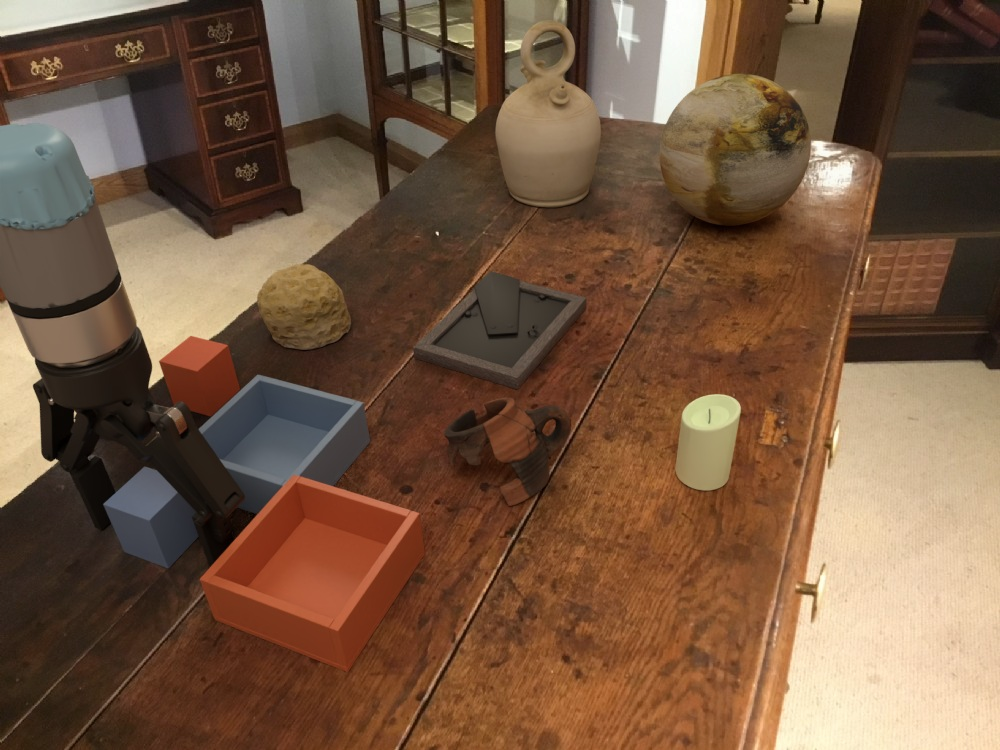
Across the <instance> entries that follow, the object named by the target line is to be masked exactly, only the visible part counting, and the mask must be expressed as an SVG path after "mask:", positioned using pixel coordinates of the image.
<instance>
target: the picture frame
mask: <svg viewBox="0 0 1000 750" xmlns="http://www.w3.org/2000/svg"><path fill="white" fill-rule="evenodd" d="M473 287H474V289H473V290H472V291H471V292H470V293H469V294H467V296H465V297H464V298H463V299H462V300H461V301H460V302H459V303H458V304H457V305H456V306H454V308H453V309H451V310H450V312H448V313H447V314H446V315H445V316H444V317H443V318H442V319H441V320H440V321H439V322H438V323H436V325H434V326H433V327H432V328H431V329H430V330H429V331H427V333H426V334H425V335H424V336H423V337H422V338H421V339H419V340H418V342H416V343H415V344H414V345H413V346H412V350H413V358H414V359H416V360H420V361H422V362H425V363H428V364H432V365H435V366H439V367H442V368H446V369H449V370H451V371H455V372H458V373H461V374H465V375H469V376H472V377H475V378H478V379H481V380H484V381H488V382H491V383H494V384H497V385H501V386H504V387H507V388H511V389H513V390H517V391H518V390H519V389H520V388H521V387H522V385H523V384H524V383H525V382H526V381H527V380H528V379H529V377H530V376H531V375H532V374H533V373H534V371H535V370H536V369H537V368H538V366H539V365H540V364H541V363H542V362H543V360H545V358H546V357H547V356H548V355H549V353H550V352H552V351H553V349H554V347H555V346H556V345H558V343H559V341H560V340H561V339H562V338H563V337H564V336H565V334H566V333H567V332H568V331H569V330H570V329H571V328H572V326H573V325H574V324H575V322H577V320H578V319H579V318H580V317H581V315H582V314H583V313H584V312H585V311H586V309H587V299H588V298H587V297H585V296H582V295H577V294H574V293H570V292H566V291H561V290H558V289H553V288H549V287H545V286H541V285H538V284H533V283H529V282H525V281H521V280H520V278H517V277H514V276H509V275H506V274H503V273H499V272H496V271H492V270H490V271H489V272H487V274H486V275H485V276H483V277H482V278H481V279H480V280H479V281H478V282H477V283H476V284H475V285H474V286H473Z"/></svg>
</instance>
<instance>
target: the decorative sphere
mask: <svg viewBox="0 0 1000 750" xmlns="http://www.w3.org/2000/svg"><path fill="white" fill-rule="evenodd" d="M800 105H801V104H799V102H798V101H797V100H796V99H795V97H794V96H793V95H792V94H791V93H790V92H789V91H788V90H787V89H786V88H784V87H783V86H781V85H780V84H778V83H776V82H775V81H773V80H770V79H768V78H766V77H764V76H760V75H757V74H756V75H755V74H750V73H749V74H748V73H732V74H726V75H721V76H717V77H714V78H712V79H709V80H707V81H705V82H703V83H701V84H700V85H697V86H696V87H695V88H693V89H692V90H691V91H689V92H688V93H687V94H686V95H685V96H684V97H683V98H682V99H681V100H680V101H679V102H678V103H677V105H676V106H675V108H674V109H673V110H672V111H671V113H670V115H669V117H668V118H667V121H666V123H665V126H664V128H663V130H662V134H661V137H660V143H659V166H660V172H661V174H662V178H663V181H664V183H665V186H666V188H667V190H668V191H669V193H670V195H671V196H672V198H673V199H674V200H675V202H676V203H677V204H678V205H679V206H680V207H681V208H682V209H683V210H685V212H687V213H688V214H690V215H692V216H694V218H697V219H699V220H701V221H703V222H706V223H709V224H713V225H718V226H731V227H732V226H733V227H734V226H741V225H748V224H751V223H754V222H757V221H760V220H762V219H764V218H766V217H768V216H770V215H772V214H773V213H774V212H776V211H778V210H780V208H782V207H783V206H784V205H785V204H786V203H787V202H788V201H789V200H790V199H791V198H792V196H793V195H794V194H795V193H796V191H797V190H798V188H799V187H800V185H801V183H802V182H803V179H804V178H805V175H806V173H807V169H808V166H809V163H810V159H811V151H812V140H811V131H810V125H809V123H808V120H807V117H806V115H805V113H804V111H803V109H802V107H801V106H800Z"/></svg>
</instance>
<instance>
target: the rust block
mask: <svg viewBox="0 0 1000 750" xmlns="http://www.w3.org/2000/svg"><path fill="white" fill-rule="evenodd" d="M158 363H159V366H160V369H161V372H162V374H163V378H164V381H165V383H166V387H167V390H168V392H169V396H170V399H171V402H172V404H173V406H174V405H175V404H176V403H177V402H179V401H181V402H183V403H185V404H186V405H187V406H188V407H189V409H190V412H193V413H197V414H200V415H204V416H207V417H210V418H211V417H212V416H213V415H214V414H215V413H217V412H218V411H219V410H220V409H221V408H222V407H223V406H224V405H225V404H226V403H227V402H228V401H230V400H231V399H232V398H233V397H234V396H235V395H236V394H237V393H238V392H239V391H240V390H241V388H240V383H239V380H238V376H237V373H236V370H235V365H234V362H233V358H232V354H231V351H230V347H229V345H228V344H225V343H221V342H217V341H214V340H209V339H205V338H202V337H197V336H193V335H189V336H188V337H187V338H186V339H185V340H183V341H182V342H181V343H180V344H178V345H177V346H176V347H174V348H173V349H172V350H171V351H169V352H168V353H167V354H166V355H164V356H163V357H161V358H160V359H159V360H158Z"/></svg>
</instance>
